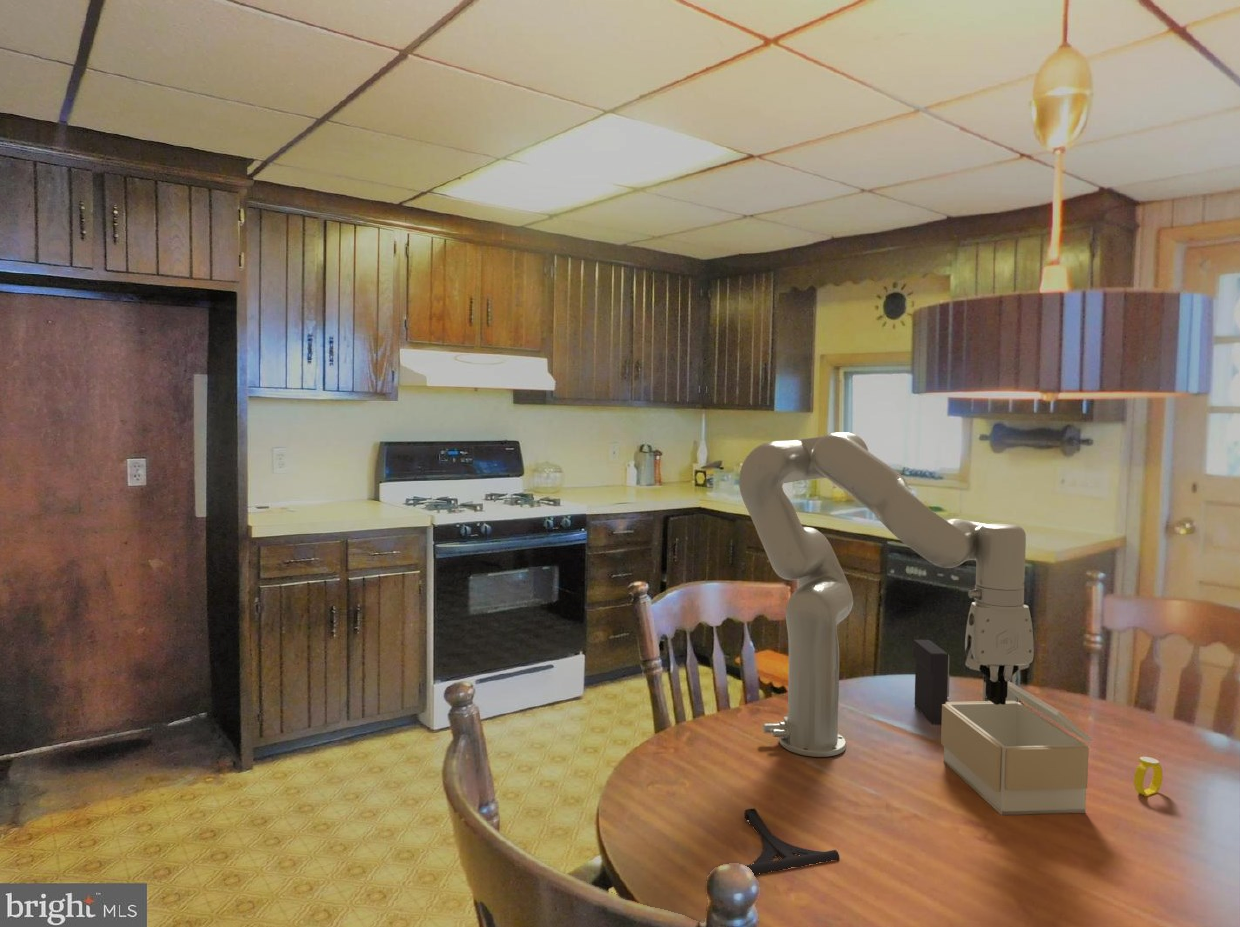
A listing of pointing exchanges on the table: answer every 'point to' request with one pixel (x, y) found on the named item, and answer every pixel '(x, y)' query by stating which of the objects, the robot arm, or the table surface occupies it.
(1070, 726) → the carton flap
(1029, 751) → the carton
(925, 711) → the black rectangular block
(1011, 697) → the light bulb box
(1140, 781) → the watch
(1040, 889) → the table surface
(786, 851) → the black squeegee
